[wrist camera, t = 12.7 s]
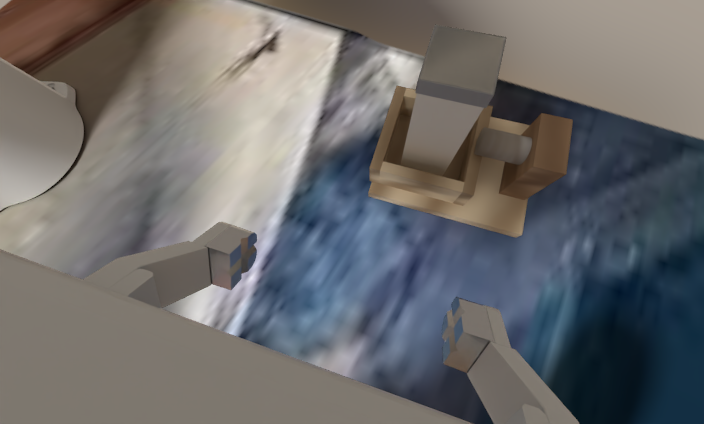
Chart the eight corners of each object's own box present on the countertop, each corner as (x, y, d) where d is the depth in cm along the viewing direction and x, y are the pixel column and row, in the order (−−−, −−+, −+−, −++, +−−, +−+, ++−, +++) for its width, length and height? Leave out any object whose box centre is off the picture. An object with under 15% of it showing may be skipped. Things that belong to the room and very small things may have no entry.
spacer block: (398, 165, 29) (418, 79, 17) (410, 128, 30) (435, 24, 18) (443, 177, 28) (493, 95, 16) (452, 138, 29) (506, 37, 18)
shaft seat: (366, 195, 29) (365, 165, 22) (396, 103, 32) (403, 51, 25) (515, 237, 27) (565, 217, 20) (532, 133, 30) (580, 85, 23)
